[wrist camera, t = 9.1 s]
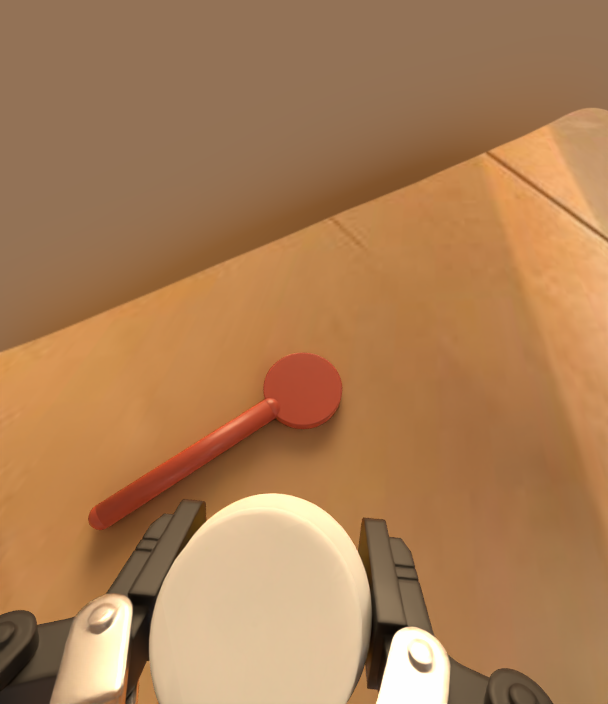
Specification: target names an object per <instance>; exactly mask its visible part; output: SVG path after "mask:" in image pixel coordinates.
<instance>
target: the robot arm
mask: <svg viewBox="0 0 608 704" xmlns="http://www.w3.org/2000/svg"><path fill="white" fill-rule="evenodd" d="M205 522H206V503H205V501H197V500H187V499H183V500H182V501H181V502H180V504H179V506H178V507H177V509H176V511H175V512H174V514H163V515H162V516H161V517H160V518H158V519H157V520H156V521H155V522H153V523H152V524H151V525H150V527H149V528H148V530H147V531H146V533H145V535H144V536H143V539H142V540H141V541H140V542H139V544H138V545H137V547H136V550H135V551H134V552H133V553H132V555H131V556H130V558H129V559H128V561H127V562H126V564H125V565H124V567H123V569H122V570H121V572H120V573H119V575H118V576H117V578H116V579H115V581H114V582H113V584H112V585H111V587H110V589H109V590H108V592H107V593H106V594H105V595H103V596H100V597H98V598H96V599H94V600H92V601H91V602H89V603H88V604H87V605H85V606H84V607H83V608H82V609H81V610H80V611H79V612H78V614H77V615H76V616H75V617H72V618H68V619H64V620H59V621H54V622H49V623H44V624H39V625H37V622H36V618H35V616H34V615H33V614H32V613H31V612H29V611H25V610H18V611H12V612H8V613H5V614H2V615H0V704H138V693H139V677H140V675H141V673H142V671H143V668H144V666H145V664H146V661H150V660H149V637H150V628H151V621H152V616H153V612H154V608H155V604H156V600H157V597H158V595H159V592H160V589H161V587H162V584H163V581H164V579H165V578H166V576H167V574H168V572H169V570H170V568H171V566H172V564H173V563H174V561H175V559H176V558H177V557H178V555H179V554H180V553H181V552H182V550H183V549H184V548H185V546H186V545H187V544H188V542H189V541H190V539H191V538H192V537H193V535H194V534H195V533H196V532H197V530H198V529H199V528H200V527H201V526H202V525H203V524H204V523H205ZM358 553H359V556H360V558H361V560H362V563H363V566H364V568H365V572H366V575H367V579H368V583H369V587H370V594H371V604H372V630H371V638H370V644H369V650H368V654H367V659H366V662H365V666H366V677H367V688H368V689H376V690H378V694H379V696H378V700H377V704H553V703H552V701H551V700H550V698H549V697H548V696H547V694H546V693H545V692H544V691H543V689H542V688H541V687H540V686H539V685H538V684H537V683H535V682H534V681H533V680H532V679H530V678H529V677H527V676H526V675H524V674H522V673H520V672H518V671H516V670H513V669H508V668H502V669H498V670H496V671H494V672H493V673H492V674H491V676H490V678H489V677H487V676H485V675H482V674H480V673H478V672H476V671H474V670H471V669H469V668H467V667H465V666H463V665H461V664H460V663H458V662H457V661H455V660H454V659H453V658H451V657H450V656H449V655H448V654H447V653H446V651H445V649H444V647H443V646H442V644H441V643H440V642H439V641H438V640H437V639H436V638H435V636H434V633H433V630H432V627H431V623H430V620H429V616H428V612H427V609H426V605H425V601H424V598H423V594H422V590H421V587H420V583H419V582H418V576H417V572H416V569H415V565H414V561H413V558H412V554H411V551H410V550H409V548H408V547H407V546H406V544H405V543H404V542H403V540H402V539H401V538H394V537H389V535H388V530H387V525H386V521H385V520H383V519H373V518H363V519H362V524H361V532H360V540H359V547H358Z"/></svg>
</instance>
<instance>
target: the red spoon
mask: <svg viewBox="0 0 608 704" xmlns="http://www.w3.org/2000/svg"><path fill="white" fill-rule="evenodd" d="M341 395H342V383H341V379H340V376H339V374H338V372H337V370H336V369H335V368H334V366H333V365H332V364H331V363H330V362H328V361H327V360H326V359H324V358H322V357H320V356H318V355H315V354H311V353H295V354H291V355H288V356H285V357H283V358H282V359H280V360H279V361H277V362H276V363H275V364H274V365H273V366H272V367H271V368H270V370H269V371H268V373H267V375H266V378H265V381H264V397H265V400H263V401H261V402H260V403H258V404H257V405H255V406H254V407H252V408H250V409H249V410H247V411H246V412H244V413H242V414H241V415H239V416H238V417H236V418H234V419H233V420H231V421H230V422H228V423H226V424H225V425H223V426H222V427H220V428H219V429H217V430H215V431H214V432H212V433H211V434H209V435H207V436H206V437H204V438H203V439H201V440H199V441H198V442H196V443H195V444H193V445H191V446H190V447H188V448H187V449H185V450H184V451H182V452H180V453H179V454H177V455H176V456H174V457H172V458H171V459H169V460H168V461H166V462H164V463H163V464H161V465H160V466H158V467H156V468H155V469H153V470H152V471H150V472H149V473H147V474H145V475H144V476H142V477H141V478H139V479H137V480H136V481H134V482H133V483H131V484H129V485H128V486H126V487H125V488H123V489H122V490H120V491H118V492H117V493H115V494H114V495H112V496H110V497H109V498H107V499H106V500H104V501H102V502H101V503H99V504H98V505H96V506H95V507H94V508H93V509H92V510H91V512H90V514H89V518H88V520H89V524H90V526H91V527H93V528H94V529H97V530H103V529H106V528H108V527H110V526H111V525H113V524H114V523H116V522H117V521H119V520H121V519H122V518H124V517H125V516H127V515H128V514H130V513H131V512H133V511H134V510H136V509H137V508H139V507H140V506H142V505H144V504H145V503H147V502H148V501H150V500H151V499H153V498H154V497H156V496H157V495H159V494H160V493H162V492H163V491H165V490H167V489H168V488H170V487H171V486H173V485H174V484H176V483H177V482H179V481H180V480H182V479H183V478H185V477H186V476H188V475H190V474H191V473H193V472H194V471H196V470H197V469H199V468H200V467H202V466H203V465H205V464H206V463H208V462H209V461H211V460H212V459H214V458H216V457H217V456H219V455H220V454H222V453H223V452H225V451H226V450H228V449H229V448H231V447H232V446H234V445H235V444H237V443H239V442H240V441H242V440H243V439H245V438H246V437H248V436H249V435H251V434H252V433H254V432H255V431H257V430H258V429H260V428H262V427H263V426H265V425H266V424H268V423H269V422H271V421H272V420H274V419H275V418H276V419H277V420H278V421H279V422H281V423H283V424H284V425H286V426H289V427H292V428H297V429H309V428H313V427H317V426H319V425H321V424H323V423H325V422H326V421H328V420H329V419H330V418H331V417H332V416H333V415H334V413H335V412H336V410H337V408H338V406H339V403H340V400H341Z"/></svg>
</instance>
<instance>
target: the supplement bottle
mask: <svg viewBox="0 0 608 704" xmlns="http://www.w3.org/2000/svg"><path fill="white" fill-rule="evenodd" d="M371 630H372V604H371V594H370V587H369V583H368V579H367V575H366V572H365V568H364V566H363V563H362V560H361V558H360V556H359V553H358V551H357V549H356V547H355V546H354V544H353V542H352V541H351V539H350V537H349V536H348V535H347V533H346V532H345V530H344V529H343V528H342V527H341V526H340V525H339V523H338V522H337V521H336V520H335V519H334V518H333V517H331V516H330V515H329V514H328V513H327V512H325V511H324V510H322V509H321V508H319V507H318V506H316V505H314V504H313V503H311V502H308V501H306V500H304V499H301V498H298V497H295V496H291V495H285V494H276V493H272V494H259V495H255V496H250V497H247V498H244V499H241V500H239V501H236V502H234V503H232V504H230V505H228V506H226V507H225V508H223V509H222V510H220V511H218V512H217V513H216V514H214V515H213V516H212V517H211V518H209V519H208V520H207V521H206V522H205V523H204V524H203V525H202V526H201V527H200V528H199V529H198V530H197V532H196V533H195V534H194V535H193V537H192V538H191V539H190V541H189V542H188V544H187V545H186V546H185V548H184V549H183V550H182V552H181V553H180V554H179V555H178V557H177V558H176V559H175V561H174V563H173V564H172V566H171V568H170V570H169V572H168V574H167V576H166V578H165V579H164V581H163V584H162V587H161V589H160V592H159V595H158V597H157V600H156V604H155V608H154V612H153V616H152V621H151V628H150V637H149V660H150V671H151V676H152V681H153V686H154V690H155V694H156V697H157V700H158V702H159V704H346V703H347V702H348V700H349V698H350V697H351V695H352V693H353V691H354V689H355V687H356V685H357V683H358V681H359V679H360V677H361V674H362V671H363V669H364V665H365V662H366V659H367V654H368V650H369V644H370V638H371Z"/></svg>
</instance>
